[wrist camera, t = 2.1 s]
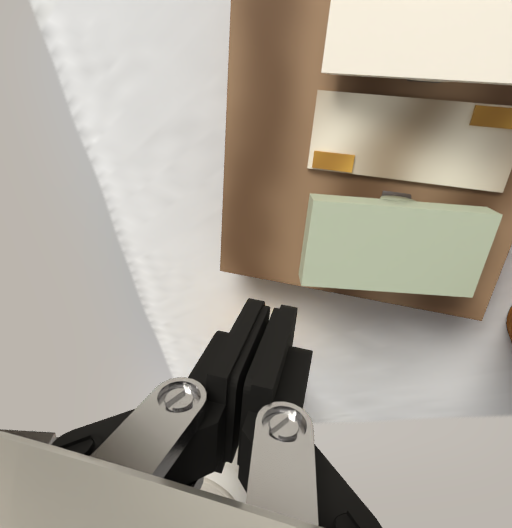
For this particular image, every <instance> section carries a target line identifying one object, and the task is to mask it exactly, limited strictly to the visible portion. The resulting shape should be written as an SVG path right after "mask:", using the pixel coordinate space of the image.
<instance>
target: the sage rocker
mask: <svg viewBox="0 0 512 528" xmlns="http://www.w3.org/2000/svg"><path fill="white" fill-rule="evenodd" d="M502 216H503V215H502V214H500V213H498V212H496V211H494V210H492V209H490V208H488V207H482V206H469V205H456V204H443V203H430V202H417V201H415V200H413V199H410V198H406V197H401V196H392V195H385V196H381V197H380V199H377V198H364V197H351V196H338V195H325V194H312V193H310V195H309V202H308V209H307V217H306V224H305V231H304V238H303V245H302V253H301V260H300V267H299V279H300V283H301V286H310V287H325V288H339V289H354V290H368V291H383V292H397V293H412V294H426V295H441V296H455V297H470V298H473V295H474V292H475V289H476V287H477V284H478V281H479V279H480V276H481V273H482V270H483V268H484V265H485V262H486V260H487V257H488V254H489V251H490V249H491V246H492V243H493V241H494V238H495V235H496V232H497V230H498V227H499V224H500V222H501V219H502Z"/></svg>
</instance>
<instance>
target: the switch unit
mask: <svg viewBox="0 0 512 528" xmlns="http://www.w3.org/2000/svg"><path fill="white" fill-rule="evenodd" d="M330 3H331V0H231V12H230V37H229V62H228V86H227V111H226V136H225V161H224V186H223V210H222V235H221V260H220V271H224V272H229V273H234V274H240V275H245V276H250V277H255V278H261V279H266V280H271V281H276V282H281V283H287V284H292V285H297V286H301V283H300V279H299V267H300V260H301V253H302V245H303V238H304V231H305V224H306V217H307V209H308V202H309V195H310V193H312V194H325V195H338V196H351V197H364V198H377V199H380V197H381V196H385V195H392V196H401V197H406V198H410V199H413V200H415V201H417V202H430V203H443V204H456V205H469V206H482V207H488V208H490V209H492V210H494V211H496V212H498V213H500V214H502V215H503V216H502V219H501V222H500V224H499V227H498V230H497V232H496V235H495V238H494V241H493V243H492V246H491V249H490V251H489V254H488V257H487V260H486V262H485V265H484V268H483V270H482V273H481V276H480V279H479V281H478V284H477V287H476V289H475V292H474V295H473V298H470V297H455V296H441V295H426V294H412V293H397V292H383V291H368V290H354V289H339V288H325V287H310V286H302V287H307V288H313V289H318V290H323V291H328V292H334V293H339V294H344V295H349V296H354V297H360V298H365V299H370V300H375V301H380V302H386V303H391V304H396V305H401V306H407V307H412V308H417V309H422V310H427V311H433V312H438V313H443V314H448V315H453V316H459V317H464V318H469V319H474V320H480V321H482V319H483V316H484V313H485V311H486V308H487V306H488V303H489V301H490V298H491V296H492V293H493V290H494V288H495V285H496V283H497V280H498V278H499V275H500V273H501V270H502V267H503V265H504V262H505V260H506V257H507V255H508V252H509V250H510V247H511V245H512V85H497V84H480V83H463V82H429V81H416V80H408V79H396V78H379V77H362V76H345V75H330V74H326V73H321V70H322V63H323V55H324V48H325V40H326V33H327V25H328V18H329V10H330Z"/></svg>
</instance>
